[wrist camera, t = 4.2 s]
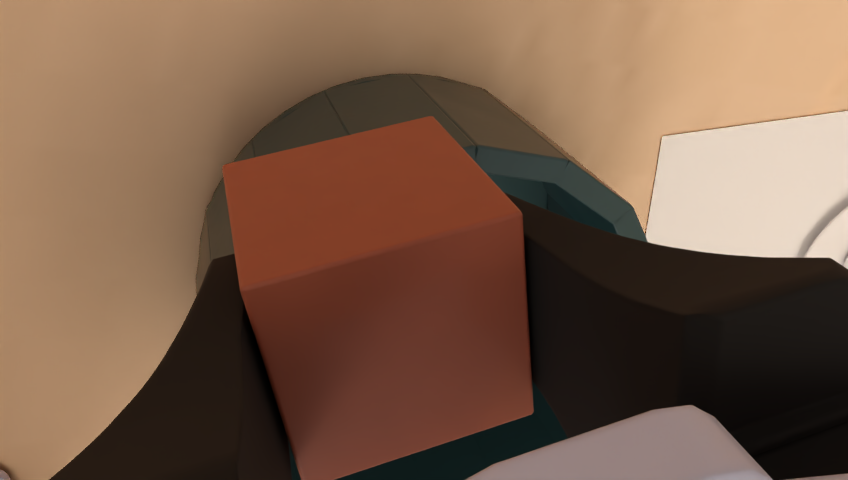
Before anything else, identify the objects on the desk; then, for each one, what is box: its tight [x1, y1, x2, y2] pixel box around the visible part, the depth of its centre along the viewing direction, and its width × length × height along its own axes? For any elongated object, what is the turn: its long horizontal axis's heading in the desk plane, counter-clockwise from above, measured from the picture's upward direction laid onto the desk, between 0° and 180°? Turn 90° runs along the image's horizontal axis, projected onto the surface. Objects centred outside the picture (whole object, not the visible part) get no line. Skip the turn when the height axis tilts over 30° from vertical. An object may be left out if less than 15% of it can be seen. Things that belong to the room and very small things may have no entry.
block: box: [222, 116, 534, 480], centre depth 13 cm, size 4×4×4 cm
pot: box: [196, 74, 648, 480], centre depth 22 cm, size 13×13×6 cm
